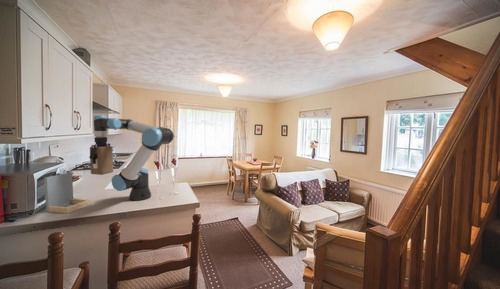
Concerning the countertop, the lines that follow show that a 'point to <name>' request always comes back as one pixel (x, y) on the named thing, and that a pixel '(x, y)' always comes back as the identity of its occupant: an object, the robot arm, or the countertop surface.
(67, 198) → the board
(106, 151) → the wooden block
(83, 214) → the countertop surface
